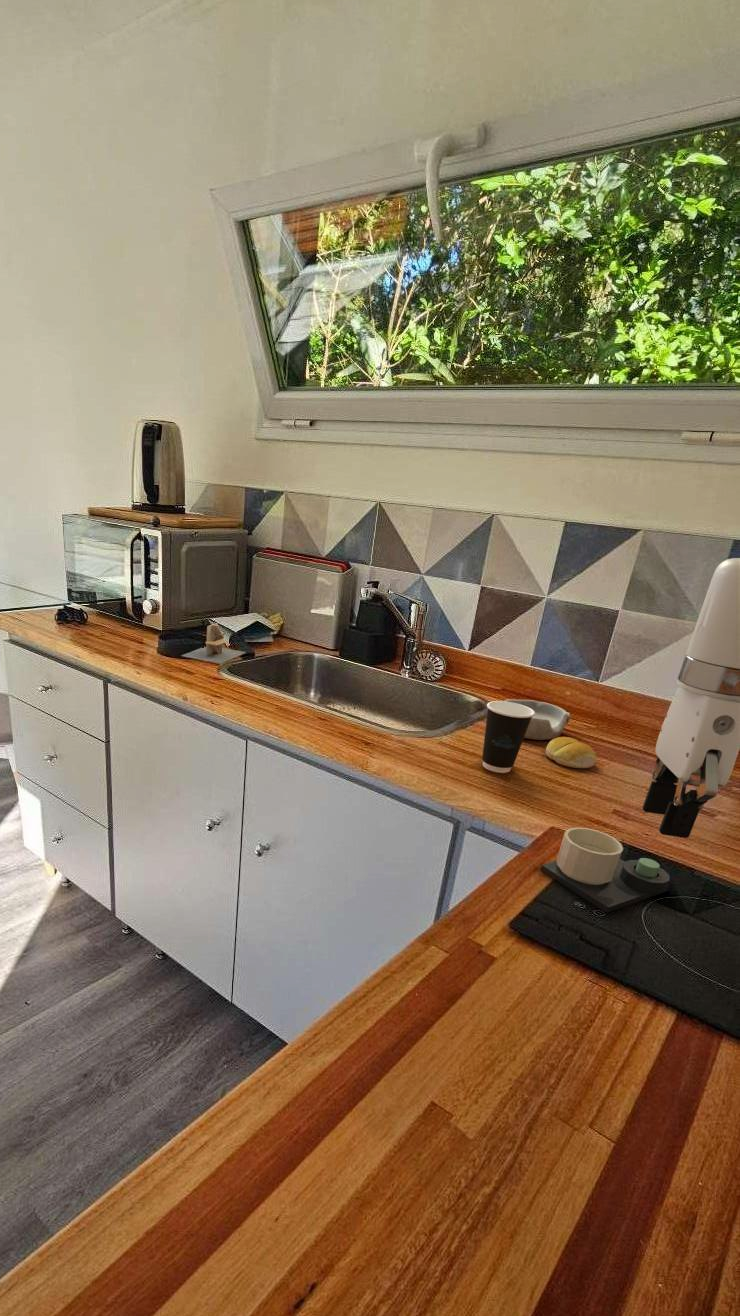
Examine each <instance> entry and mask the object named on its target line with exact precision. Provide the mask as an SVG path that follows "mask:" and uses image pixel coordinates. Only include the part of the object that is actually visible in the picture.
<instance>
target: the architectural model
mask: <svg viewBox="0 0 740 1316" xmlns="http://www.w3.org/2000/svg"><path fill="white" fill-rule="evenodd" d="M224 637H225V633H224V632H222V631H221V629H220V627H219V622H215V623H212V624H210V625H207V626H206V641H205V644H206V645H205V646H206V647H205V646H203V647H204V648H202V647H200V648H197V649H195V650H191V651H190V652H187V653H183V654H181V657H185V658H189V659H190V658H191V659H194V660H195V659H196V660H200V661H205V662H209V663H215V664H220V665H222V664H224V663H227V662H229V661H232V660H233V659H235V658H238V657H240V656H242V655H245V654H246V653H247V651H241V650H236V649H230V648H226V647H224V643H227V642H229V639H228V638H224Z"/></svg>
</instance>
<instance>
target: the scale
mask: <svg viewBox="0 0 740 1316" xmlns="http://www.w3.org/2000/svg"><path fill="white" fill-rule="evenodd" d="M638 861H639V859H629V860H623V859H621V858H620V861H619V863H618V866H617V869H616V872H615V875H614V877H613V879H612V881H610V882H607V883H604V884H600V885H591V884H586V883H582V882H579V881H576V880H574V879H572V878H570V877H568V876H567V875H565V874H564V873H563V872H562V871H561V869H560V868H559V867H558V865H557V861H556V860H555V861H554V860H553V861H551V862H547V863H544V864H541V866H540V870H539V871H541V872H542V873H544V874H545V875H547V876H549V877H550V878H552V879H553V880H555V881H556V882H558V883H559V884H561V885H562V886H564V887H565V888H567V889H569V890H570V891H572V892H573V893H575V894H577V896H580V897H581V898H583V899H584V900H586V901H587V902H589V903H591V904H592V905H593V906H595V907H597V908H599V910H601V911H603V912H605V913H607V914H608V913H611V912H614V911H616V910H619V909H622V908H624V907H627V906H630V905H632V904H635V903H639V902H641V901H643V900H646V899H650V898H652V897H655V896H657V895H660V894H663V893H666V892H668V889H669V884H670V879H671V876H670V874H668V872H667V871H666V870H665V869H664V868H661V867H660V868H659V870H658V873H657V876H656V877H655V878H652V877H646V876H643V875H641V874H639V873H637V872H636V867H637V864H638Z"/></svg>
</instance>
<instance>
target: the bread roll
mask: <svg viewBox="0 0 740 1316" xmlns="http://www.w3.org/2000/svg"><path fill="white" fill-rule="evenodd" d="M545 755H546V757H548V758H549V759H550V760H552V761H554V762H556V764H559V765H561V766H564V767H567V768H573V769H590V768H592V767H593V766H595V763H596V761H597V759H598V756H597V753H596V752H595V750H594V749H593V748H592V747H591V746H590V745H589V744H586V743H584V742H580V741H579V740H578V739H576V738H573V737H570V736H558V737H556V738H553V739H551V740H550V741H549V742H548V744H547V745H546V746H545Z"/></svg>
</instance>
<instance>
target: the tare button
mask: <svg viewBox="0 0 740 1316" xmlns="http://www.w3.org/2000/svg"><path fill="white" fill-rule="evenodd" d="M638 860H639V861H638V864H637V867H636V872H637V873H639V874H641V875H643V876H646V877H652V878H655V877H656V876H657V873H658V870H659V868H661V865H660V863H658V862H657V861H656V860H654V859H651V858H646V857H641V858H639V859H638Z"/></svg>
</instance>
